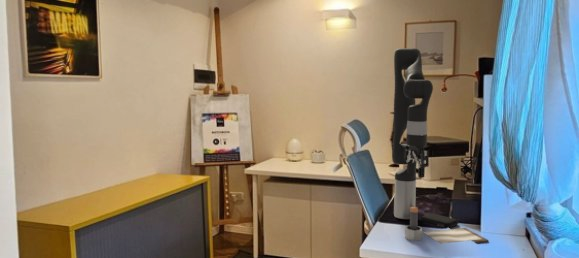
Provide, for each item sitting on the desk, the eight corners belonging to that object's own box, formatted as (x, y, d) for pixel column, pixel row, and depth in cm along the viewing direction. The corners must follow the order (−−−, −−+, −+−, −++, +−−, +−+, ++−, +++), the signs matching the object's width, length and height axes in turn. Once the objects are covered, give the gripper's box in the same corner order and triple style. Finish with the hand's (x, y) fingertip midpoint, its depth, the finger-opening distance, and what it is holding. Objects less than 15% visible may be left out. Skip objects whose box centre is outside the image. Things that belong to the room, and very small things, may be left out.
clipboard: (416, 233, 186) (416, 231, 186) (465, 229, 191) (465, 227, 190) (436, 247, 171) (436, 244, 171) (488, 242, 176) (488, 239, 176)
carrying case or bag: (416, 223, 200) (447, 231, 189) (416, 216, 200) (447, 224, 189) (429, 218, 207) (460, 225, 197) (429, 211, 207) (460, 219, 196)
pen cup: (402, 238, 181) (402, 226, 180) (416, 237, 182) (416, 224, 181) (409, 243, 175) (410, 231, 174) (424, 242, 176) (424, 229, 175)
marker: (408, 237, 179) (409, 207, 178) (414, 236, 180) (415, 206, 178) (411, 239, 176) (412, 209, 175) (418, 238, 177) (419, 208, 176)
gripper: (398, 131, 180) (398, 171, 181) (417, 135, 166) (415, 179, 168) (416, 130, 181) (415, 170, 183) (435, 134, 167) (434, 178, 169)
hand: (415, 174), depth 175 cm, fingers open, 8 cm apart
